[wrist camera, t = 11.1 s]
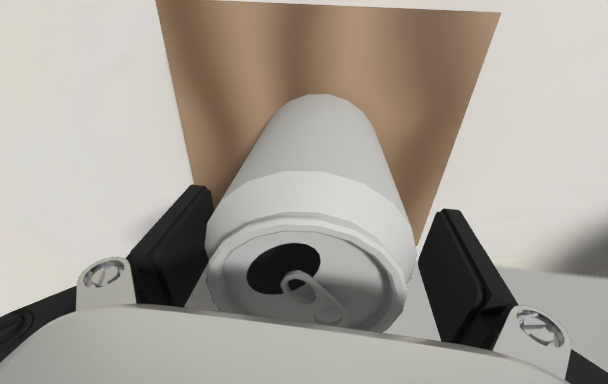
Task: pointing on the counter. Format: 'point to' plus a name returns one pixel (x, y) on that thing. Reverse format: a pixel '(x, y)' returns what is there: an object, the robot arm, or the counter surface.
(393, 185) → the can
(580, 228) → the counter surface
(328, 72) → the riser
